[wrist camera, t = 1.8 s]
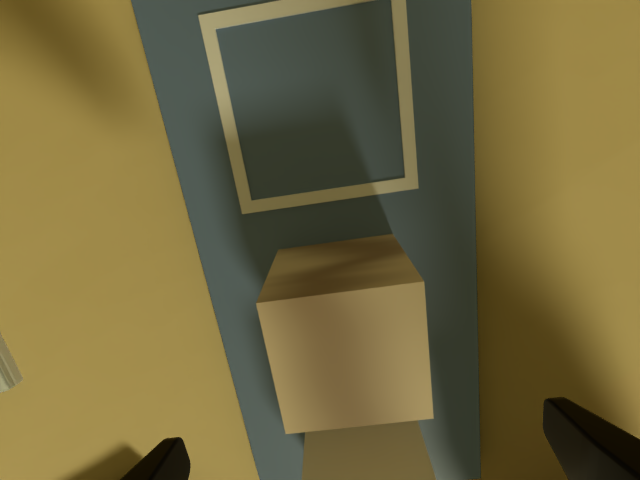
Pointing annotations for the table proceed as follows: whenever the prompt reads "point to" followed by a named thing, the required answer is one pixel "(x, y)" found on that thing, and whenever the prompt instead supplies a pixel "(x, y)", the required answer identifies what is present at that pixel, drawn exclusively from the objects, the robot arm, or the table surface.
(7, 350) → the hard drive
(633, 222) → the table surface
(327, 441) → the cream cube
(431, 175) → the board
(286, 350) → the maple cube
